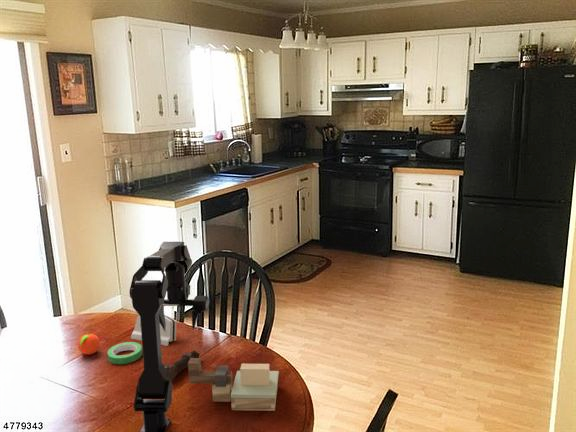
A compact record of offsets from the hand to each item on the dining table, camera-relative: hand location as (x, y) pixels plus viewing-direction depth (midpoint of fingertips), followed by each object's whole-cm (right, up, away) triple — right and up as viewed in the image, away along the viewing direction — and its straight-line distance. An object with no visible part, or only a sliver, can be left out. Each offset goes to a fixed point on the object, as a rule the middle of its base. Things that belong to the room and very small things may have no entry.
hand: (179, 328), depth 157 cm
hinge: (-14, -10, +27) cm, 32 cm away
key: (+12, -12, -12) cm, 21 cm away
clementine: (-34, -12, +15) cm, 39 cm away
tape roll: (-21, -13, +14) cm, 28 cm away
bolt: (0, -15, +4) cm, 15 cm away
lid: (+25, -13, -13) cm, 31 cm away
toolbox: (+22, -17, -12) cm, 30 cm away
